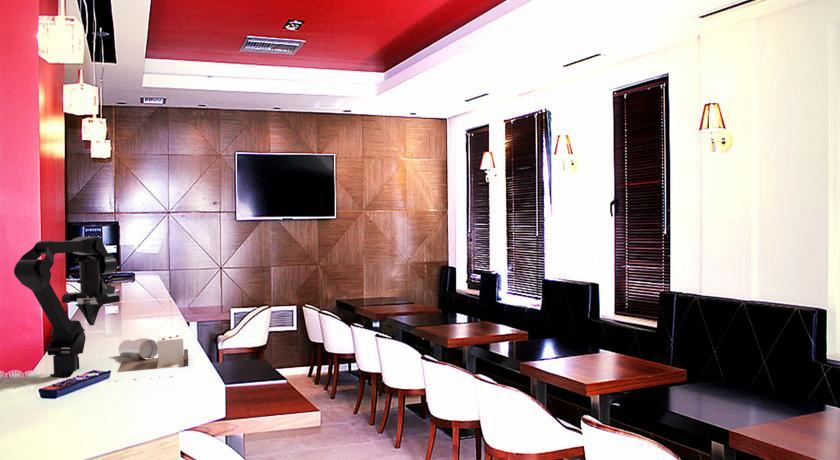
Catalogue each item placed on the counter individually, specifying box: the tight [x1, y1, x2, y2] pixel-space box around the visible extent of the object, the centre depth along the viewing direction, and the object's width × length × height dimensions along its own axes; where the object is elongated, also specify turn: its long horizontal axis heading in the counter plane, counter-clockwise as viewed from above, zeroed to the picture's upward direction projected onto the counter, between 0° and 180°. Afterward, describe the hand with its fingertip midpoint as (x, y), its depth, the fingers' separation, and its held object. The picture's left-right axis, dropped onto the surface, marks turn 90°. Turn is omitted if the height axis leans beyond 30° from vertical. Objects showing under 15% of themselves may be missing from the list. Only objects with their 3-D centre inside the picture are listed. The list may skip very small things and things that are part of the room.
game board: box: [117, 348, 189, 373], centre depth 221 cm, size 20×18×3 cm
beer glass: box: [118, 337, 158, 360], centre depth 232 cm, size 7×7×15 cm
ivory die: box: [156, 335, 185, 365], centre depth 223 cm, size 8×8×8 cm
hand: (91, 325), depth 225 cm, fingers closed
